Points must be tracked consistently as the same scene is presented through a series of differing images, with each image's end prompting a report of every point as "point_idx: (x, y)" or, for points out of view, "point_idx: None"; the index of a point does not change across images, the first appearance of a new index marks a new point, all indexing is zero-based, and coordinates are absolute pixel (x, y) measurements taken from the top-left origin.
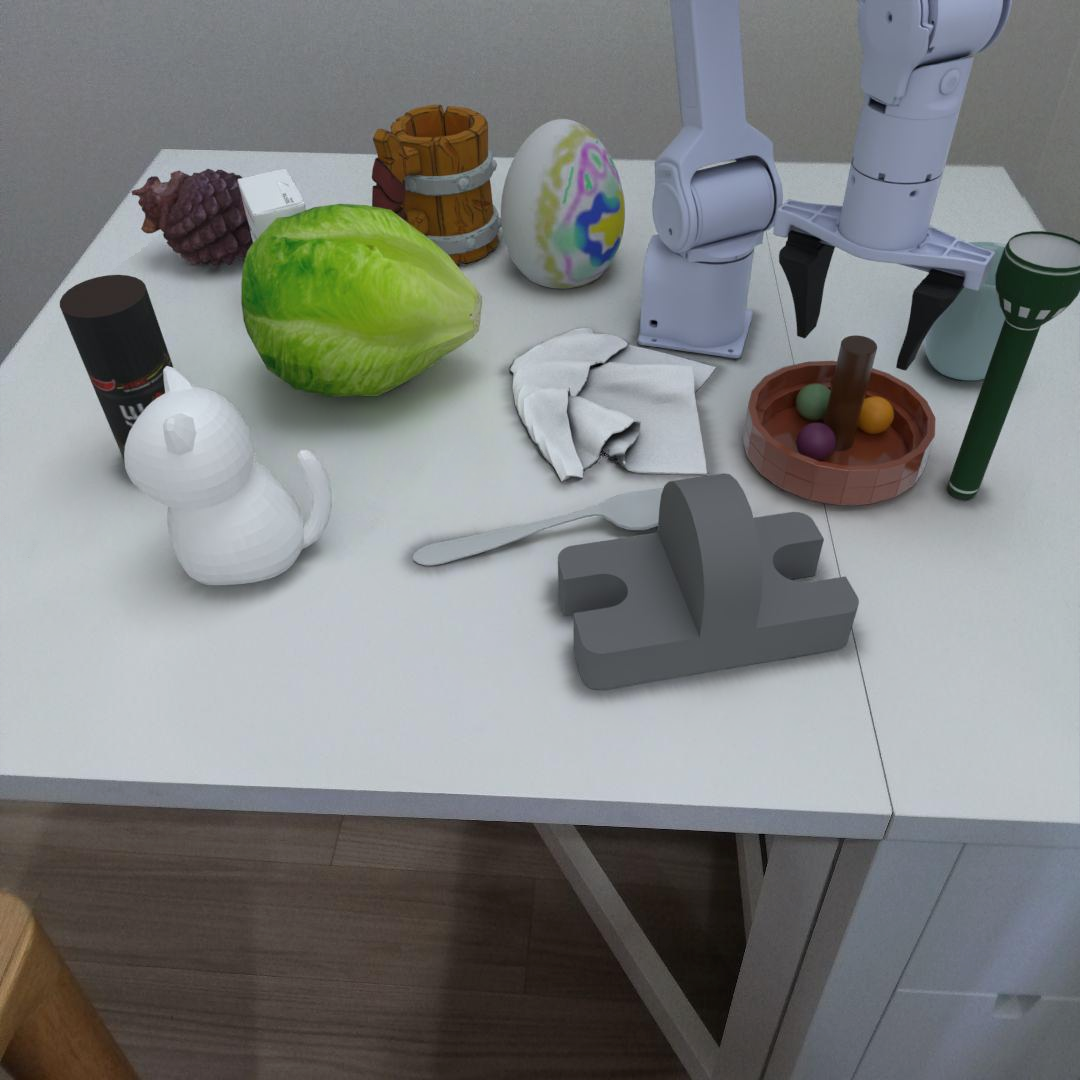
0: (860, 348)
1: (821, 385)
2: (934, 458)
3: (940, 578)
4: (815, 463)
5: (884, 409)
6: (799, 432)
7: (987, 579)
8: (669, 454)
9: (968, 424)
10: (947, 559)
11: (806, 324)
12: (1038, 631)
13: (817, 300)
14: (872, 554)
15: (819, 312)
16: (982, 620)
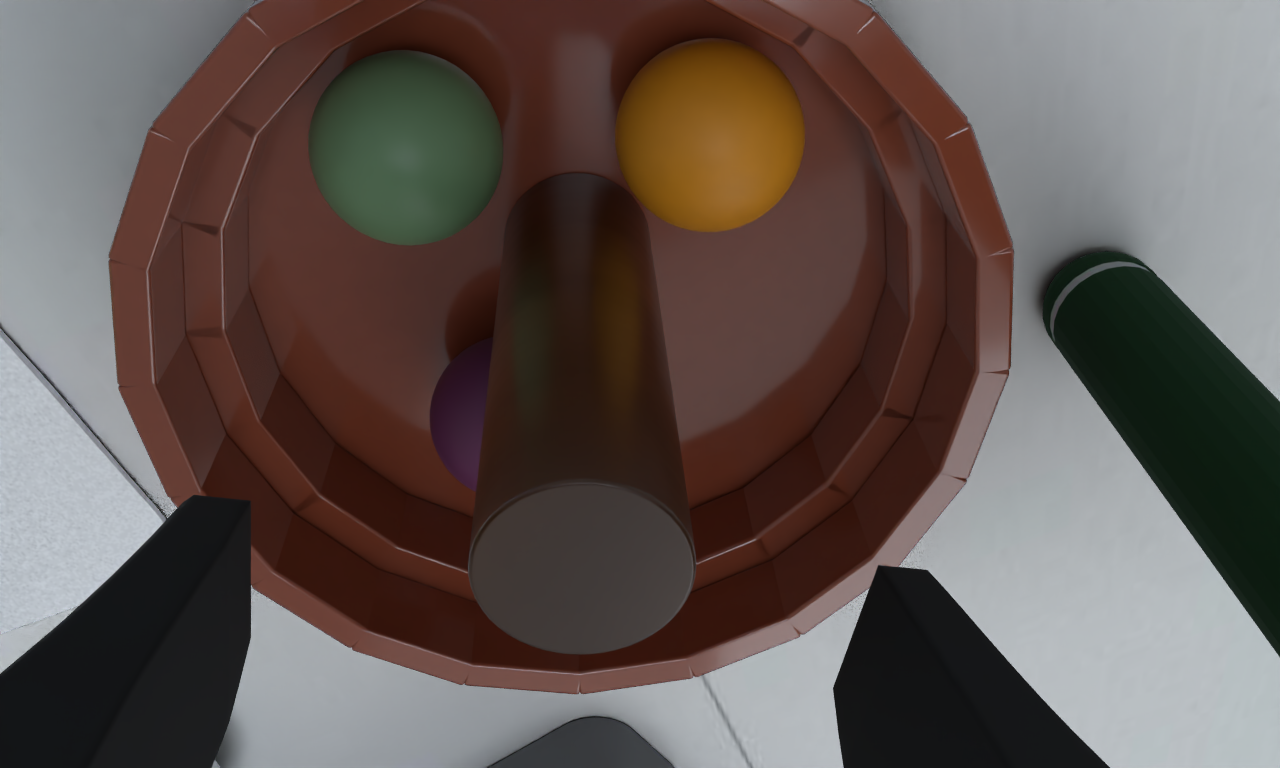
0: (600, 600)
1: (407, 155)
2: (991, 130)
3: (1008, 659)
4: (570, 688)
5: (760, 199)
6: (435, 445)
7: (1140, 617)
8: (16, 528)
9: (1175, 483)
10: (1029, 592)
11: (220, 733)
12: (1249, 715)
13: (176, 704)
14: (812, 652)
15: (223, 550)
16: (1111, 734)
